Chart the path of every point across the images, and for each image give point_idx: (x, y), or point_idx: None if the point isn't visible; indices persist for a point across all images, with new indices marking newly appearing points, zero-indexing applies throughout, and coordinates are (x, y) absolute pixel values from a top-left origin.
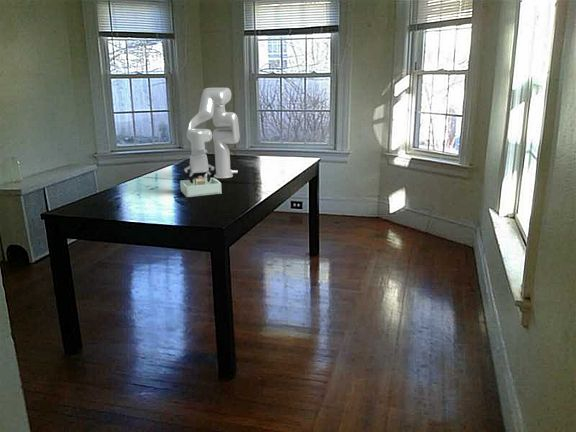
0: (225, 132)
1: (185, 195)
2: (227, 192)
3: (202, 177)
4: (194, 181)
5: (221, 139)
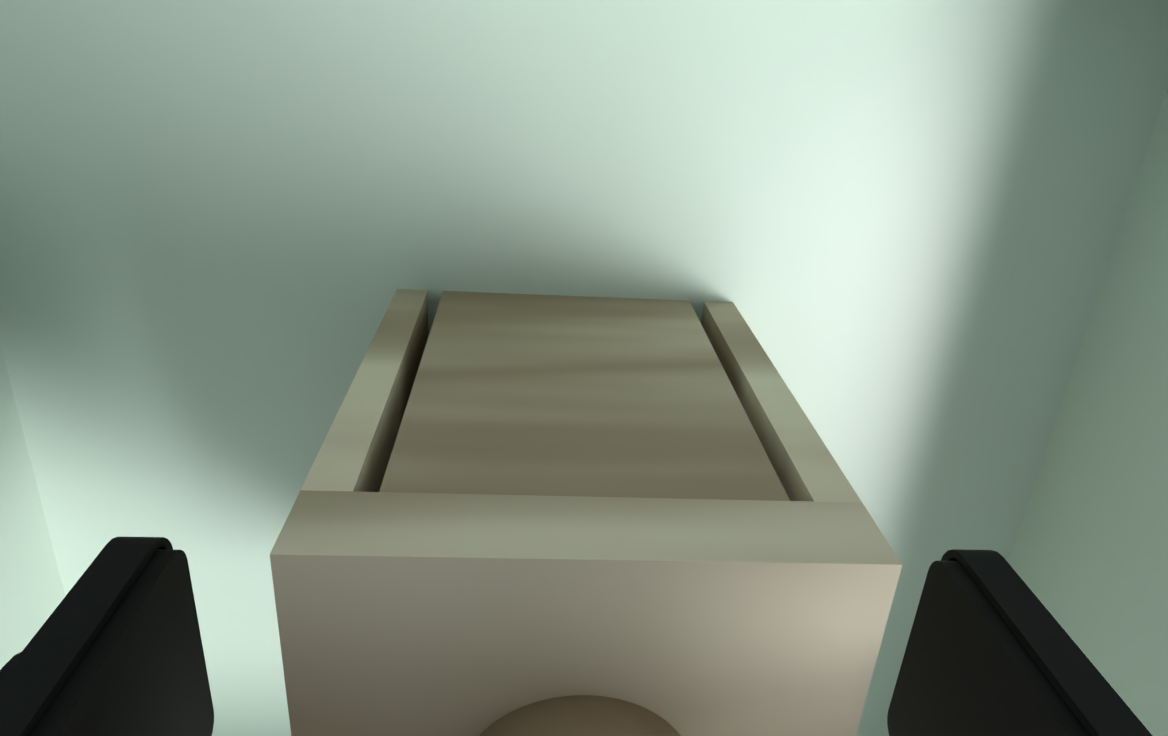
0: None
1: None
2: None
3: (800, 598)
4: (325, 443)
5: None
